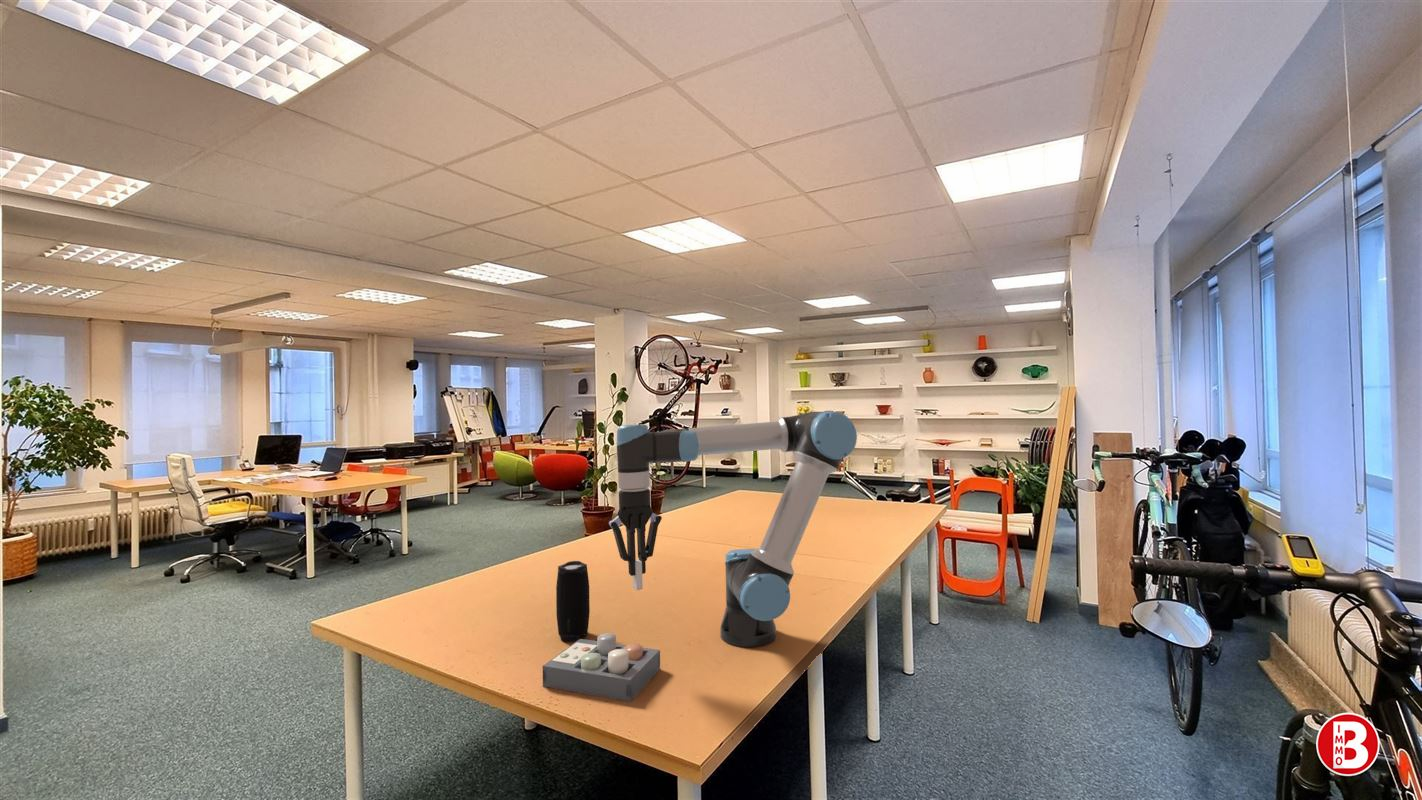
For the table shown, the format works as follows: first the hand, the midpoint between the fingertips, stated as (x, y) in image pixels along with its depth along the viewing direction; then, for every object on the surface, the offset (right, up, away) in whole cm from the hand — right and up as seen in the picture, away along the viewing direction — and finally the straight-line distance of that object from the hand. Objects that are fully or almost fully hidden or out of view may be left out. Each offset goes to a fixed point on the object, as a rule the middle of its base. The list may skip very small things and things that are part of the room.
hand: (637, 588), depth 127 cm
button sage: (-10, -18, -7) cm, 21 cm away
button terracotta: (-1, -18, -3) cm, 18 cm away
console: (-8, -19, -4) cm, 21 cm away
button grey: (-7, -16, 0) cm, 18 cm away
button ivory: (-3, -16, -9) cm, 18 cm away
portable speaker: (-20, -20, +20) cm, 35 cm away
